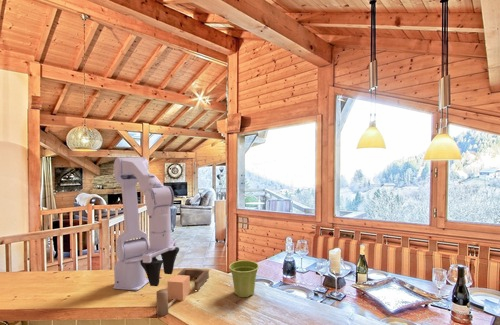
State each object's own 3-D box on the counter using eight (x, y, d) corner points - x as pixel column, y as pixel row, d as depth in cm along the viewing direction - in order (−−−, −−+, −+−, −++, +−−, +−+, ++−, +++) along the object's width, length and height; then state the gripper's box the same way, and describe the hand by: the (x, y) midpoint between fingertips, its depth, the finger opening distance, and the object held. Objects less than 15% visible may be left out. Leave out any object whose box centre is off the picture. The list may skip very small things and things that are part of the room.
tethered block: (151, 315, 77) (151, 293, 76) (175, 291, 90) (175, 273, 90) (168, 317, 75) (167, 294, 75) (190, 292, 89) (189, 274, 89)
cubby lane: (171, 289, 92) (171, 280, 92) (184, 276, 102) (184, 268, 102) (198, 291, 90) (197, 281, 90) (208, 277, 100) (208, 269, 100)
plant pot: (260, 286, 92) (259, 260, 92) (258, 300, 83) (257, 271, 83) (232, 286, 93) (231, 260, 93) (227, 300, 84) (226, 271, 84)
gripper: (159, 238, 69) (161, 292, 69) (185, 224, 84) (186, 269, 84) (134, 237, 71) (136, 290, 71) (163, 224, 85) (164, 268, 85)
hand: (161, 279), depth 77 cm, fingers open, 7 cm apart
